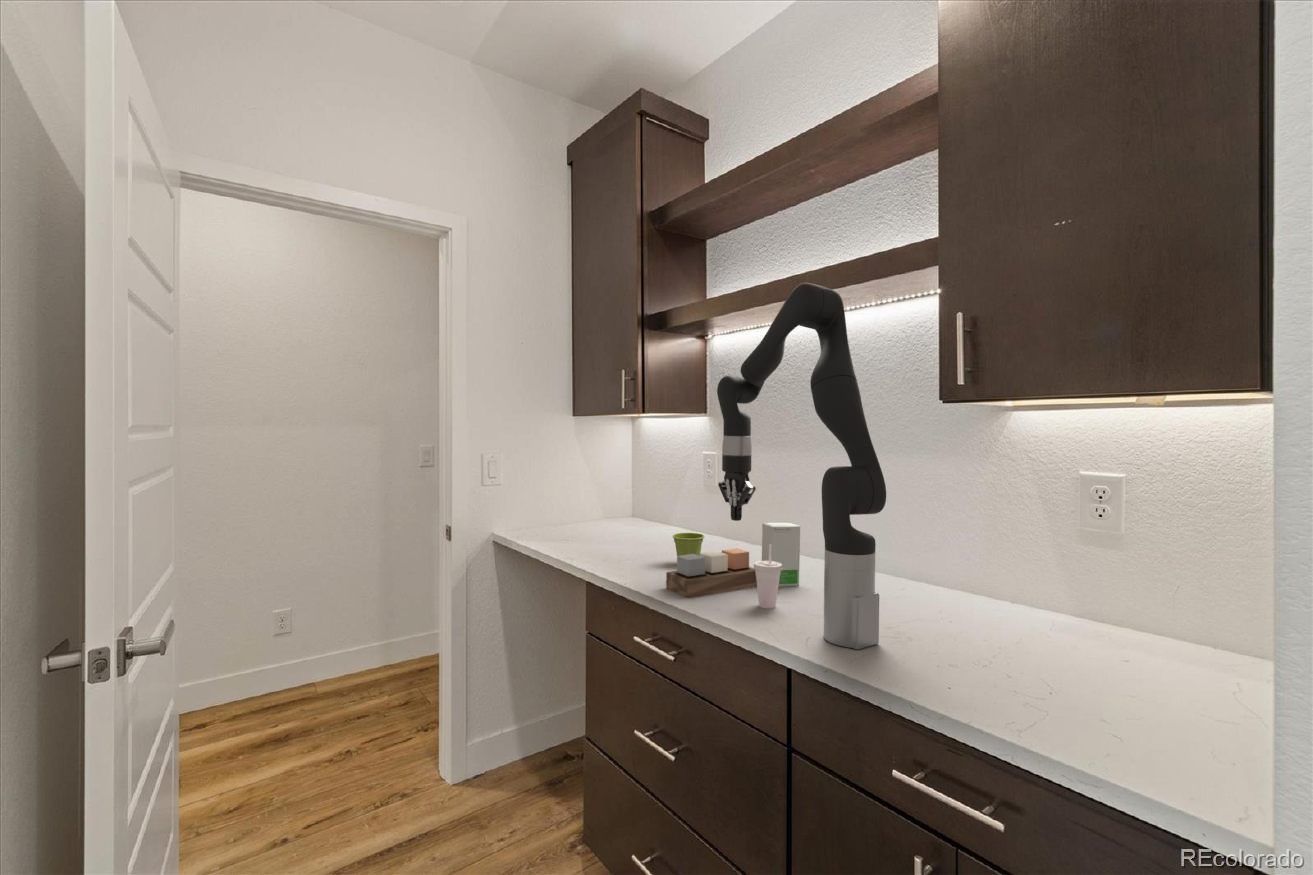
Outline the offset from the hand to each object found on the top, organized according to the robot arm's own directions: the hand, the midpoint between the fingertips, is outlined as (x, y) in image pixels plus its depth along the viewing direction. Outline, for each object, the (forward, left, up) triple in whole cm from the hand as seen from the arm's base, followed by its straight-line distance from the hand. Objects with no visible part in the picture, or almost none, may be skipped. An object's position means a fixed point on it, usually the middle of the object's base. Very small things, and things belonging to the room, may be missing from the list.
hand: (736, 520), depth 154 cm
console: (0, +7, -16) cm, 18 cm away
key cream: (0, +7, -12) cm, 14 cm away
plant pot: (+23, -1, -17) cm, 28 cm away
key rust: (0, 0, -12) cm, 12 cm away
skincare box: (-6, -10, -17) cm, 20 cm away
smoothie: (-19, +6, -17) cm, 26 cm away
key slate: (0, +14, -12) cm, 19 cm away
